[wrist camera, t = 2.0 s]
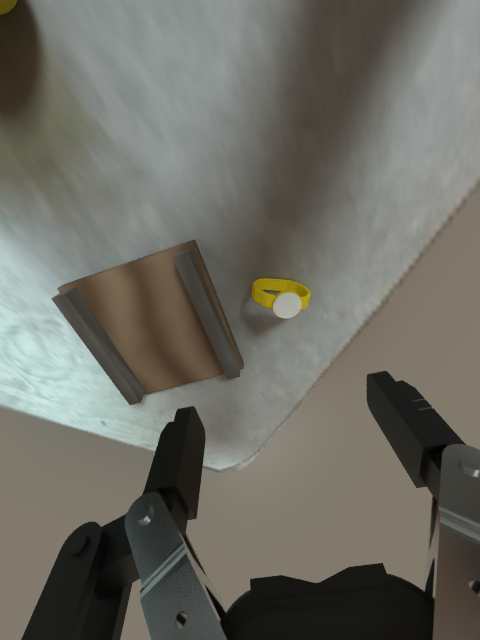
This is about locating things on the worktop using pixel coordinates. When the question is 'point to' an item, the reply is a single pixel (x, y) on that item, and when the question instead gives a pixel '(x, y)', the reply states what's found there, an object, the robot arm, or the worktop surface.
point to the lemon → (7, 5)
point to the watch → (281, 296)
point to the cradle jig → (153, 322)
